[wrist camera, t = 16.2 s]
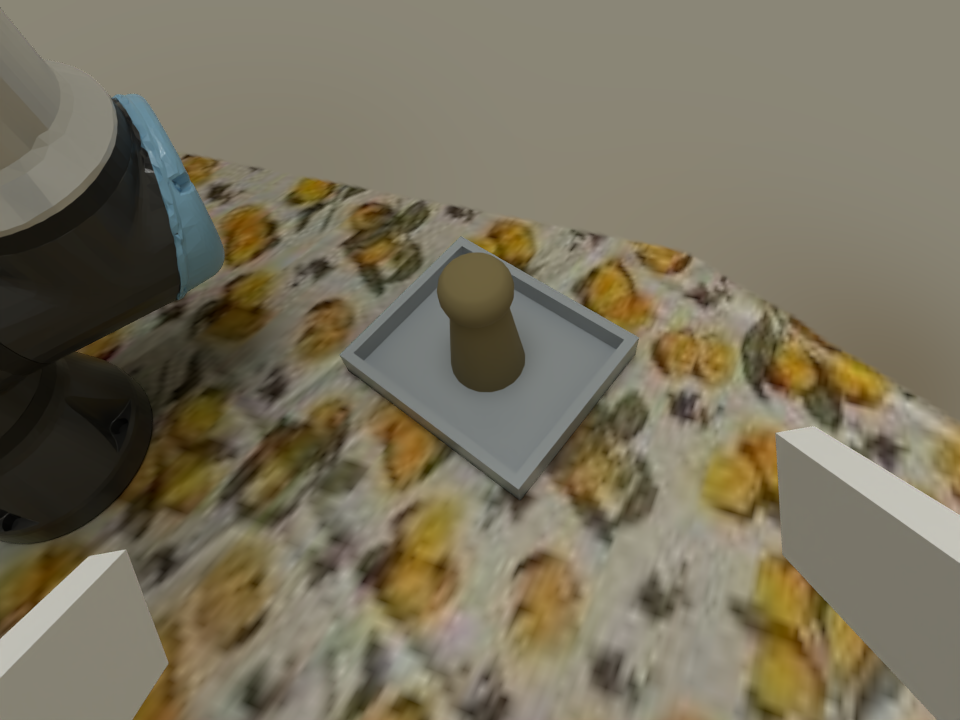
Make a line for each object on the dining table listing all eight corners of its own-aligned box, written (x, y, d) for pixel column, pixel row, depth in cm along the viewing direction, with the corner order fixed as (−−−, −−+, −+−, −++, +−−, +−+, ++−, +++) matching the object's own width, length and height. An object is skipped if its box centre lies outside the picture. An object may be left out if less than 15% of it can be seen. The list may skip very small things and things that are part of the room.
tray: (348, 370, 49) (339, 354, 47) (464, 254, 54) (460, 236, 52) (520, 500, 42) (518, 489, 40) (635, 354, 47) (639, 337, 45)
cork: (476, 317, 50) (458, 226, 41) (539, 346, 48) (536, 257, 39) (436, 372, 48) (408, 289, 38) (501, 405, 46) (488, 326, 36)
